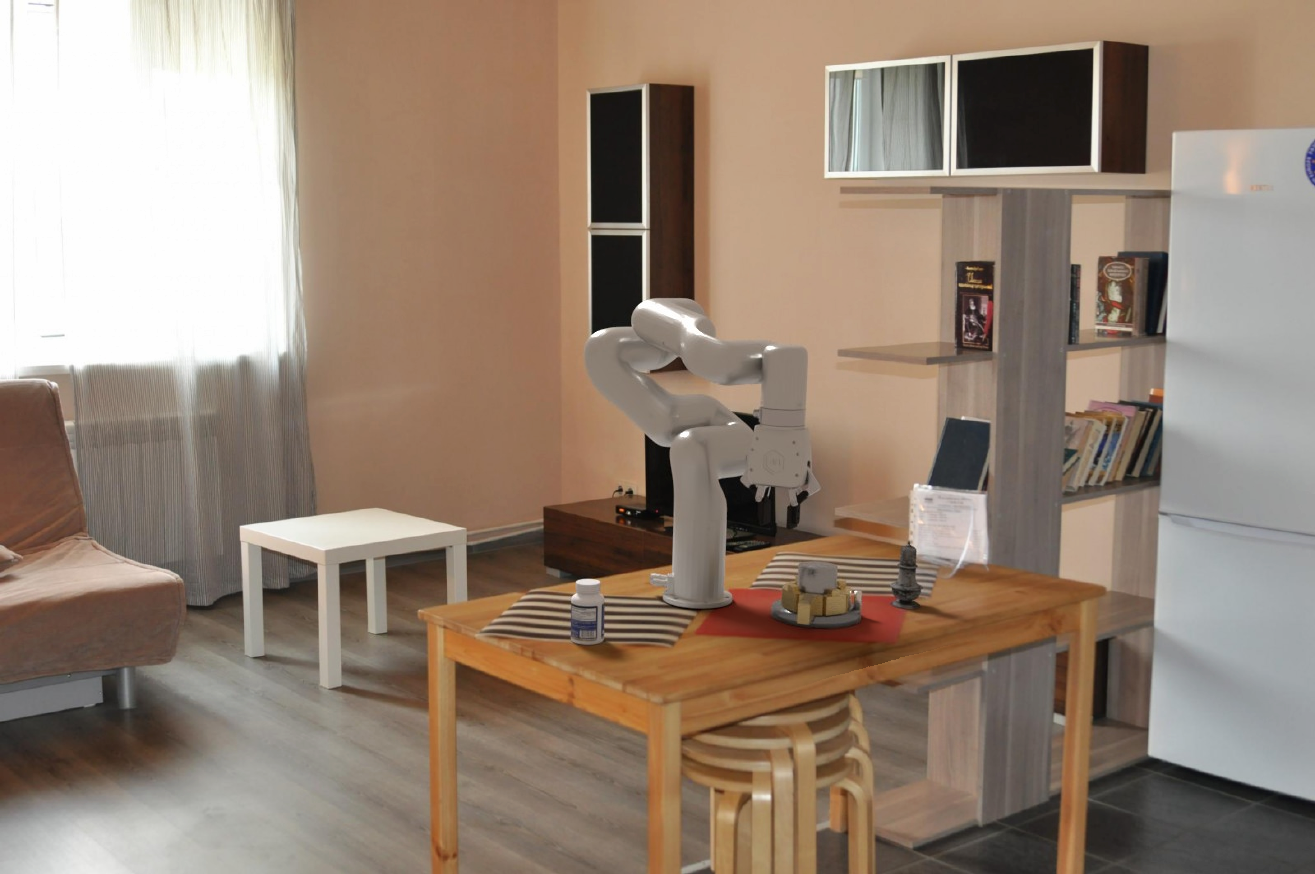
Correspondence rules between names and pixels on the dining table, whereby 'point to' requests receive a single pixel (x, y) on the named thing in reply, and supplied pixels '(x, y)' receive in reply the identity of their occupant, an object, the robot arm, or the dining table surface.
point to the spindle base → (817, 581)
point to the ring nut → (816, 601)
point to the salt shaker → (906, 580)
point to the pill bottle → (587, 613)
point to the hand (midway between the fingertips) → (778, 525)
